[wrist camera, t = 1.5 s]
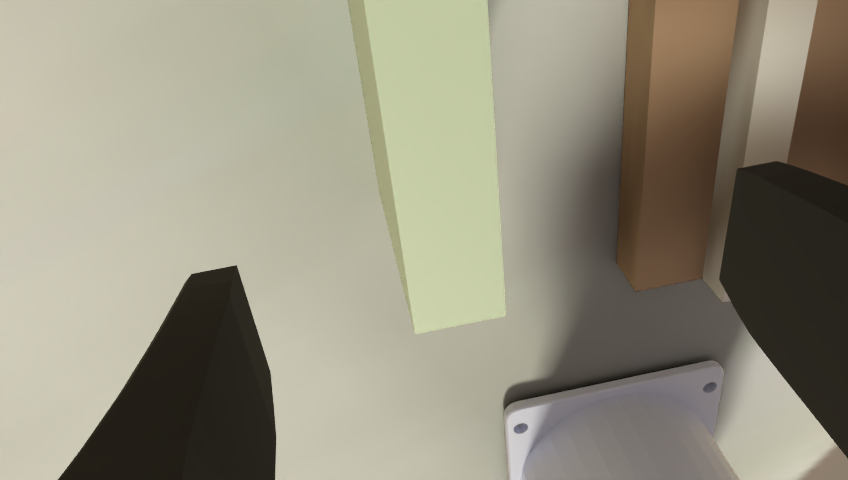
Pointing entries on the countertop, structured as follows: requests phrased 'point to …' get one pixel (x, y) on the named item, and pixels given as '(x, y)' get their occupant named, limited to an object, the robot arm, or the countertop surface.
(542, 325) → the countertop surface
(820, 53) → the track board
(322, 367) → the countertop surface
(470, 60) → the pale green rectangular block
